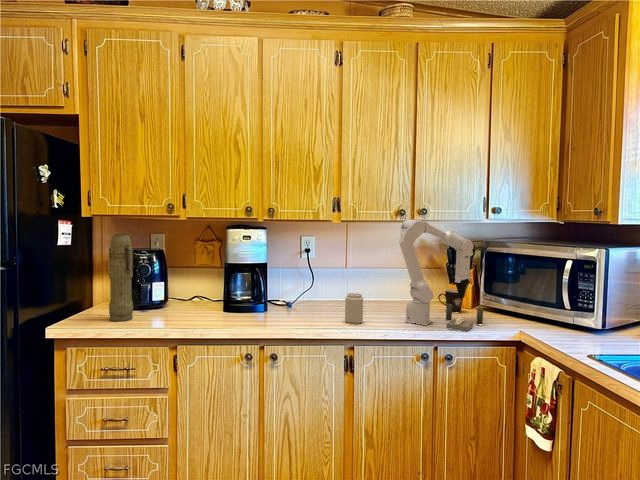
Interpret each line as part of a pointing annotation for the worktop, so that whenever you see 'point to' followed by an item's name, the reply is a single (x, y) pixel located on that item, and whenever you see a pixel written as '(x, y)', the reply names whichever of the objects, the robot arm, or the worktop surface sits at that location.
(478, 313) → the post
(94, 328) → the worktop surface
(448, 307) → the post
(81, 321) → the worktop surface
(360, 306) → the can
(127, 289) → the thermos
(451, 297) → the coffee mug
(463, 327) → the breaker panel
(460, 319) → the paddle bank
